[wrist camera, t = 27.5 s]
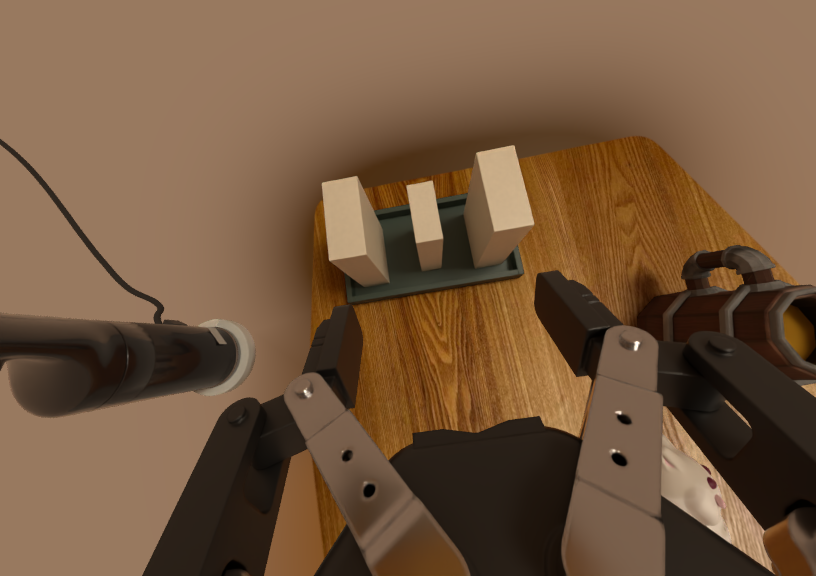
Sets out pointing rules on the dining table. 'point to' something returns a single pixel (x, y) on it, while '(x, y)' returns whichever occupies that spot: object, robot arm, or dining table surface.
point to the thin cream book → (426, 225)
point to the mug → (741, 311)
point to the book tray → (407, 264)
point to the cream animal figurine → (692, 488)
